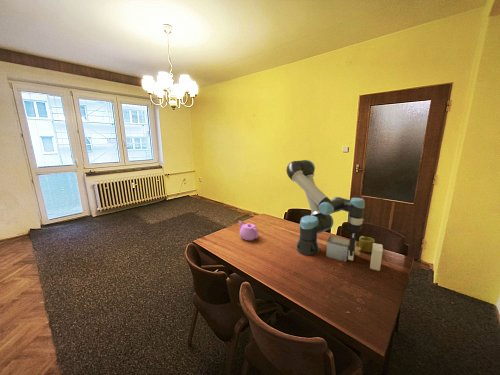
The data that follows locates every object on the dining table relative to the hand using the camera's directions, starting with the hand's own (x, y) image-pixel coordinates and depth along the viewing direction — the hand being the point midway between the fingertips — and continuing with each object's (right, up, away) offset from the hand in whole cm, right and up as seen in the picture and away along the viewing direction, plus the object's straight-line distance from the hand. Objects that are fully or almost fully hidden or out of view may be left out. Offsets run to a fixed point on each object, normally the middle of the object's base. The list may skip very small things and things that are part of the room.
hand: (351, 254), depth 131 cm
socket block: (+11, -5, -6) cm, 13 cm away
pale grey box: (-7, -2, +5) cm, 9 cm away
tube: (-3, +1, +2) cm, 4 cm away
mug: (+16, -1, +14) cm, 21 cm away
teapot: (-66, +3, +33) cm, 74 cm away
